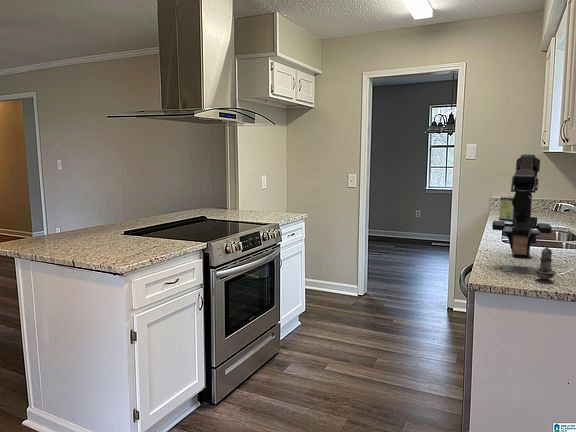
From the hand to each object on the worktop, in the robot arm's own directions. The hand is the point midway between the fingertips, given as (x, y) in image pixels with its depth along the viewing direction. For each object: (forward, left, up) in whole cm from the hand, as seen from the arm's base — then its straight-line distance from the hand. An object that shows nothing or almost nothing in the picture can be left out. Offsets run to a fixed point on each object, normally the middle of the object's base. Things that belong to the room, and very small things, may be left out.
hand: (519, 250), depth 162 cm
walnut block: (0, 0, -1) cm, 1 cm away
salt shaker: (+14, +7, -8) cm, 17 cm away
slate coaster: (0, 0, -7) cm, 7 cm away
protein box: (-147, +7, -8) cm, 147 cm away
